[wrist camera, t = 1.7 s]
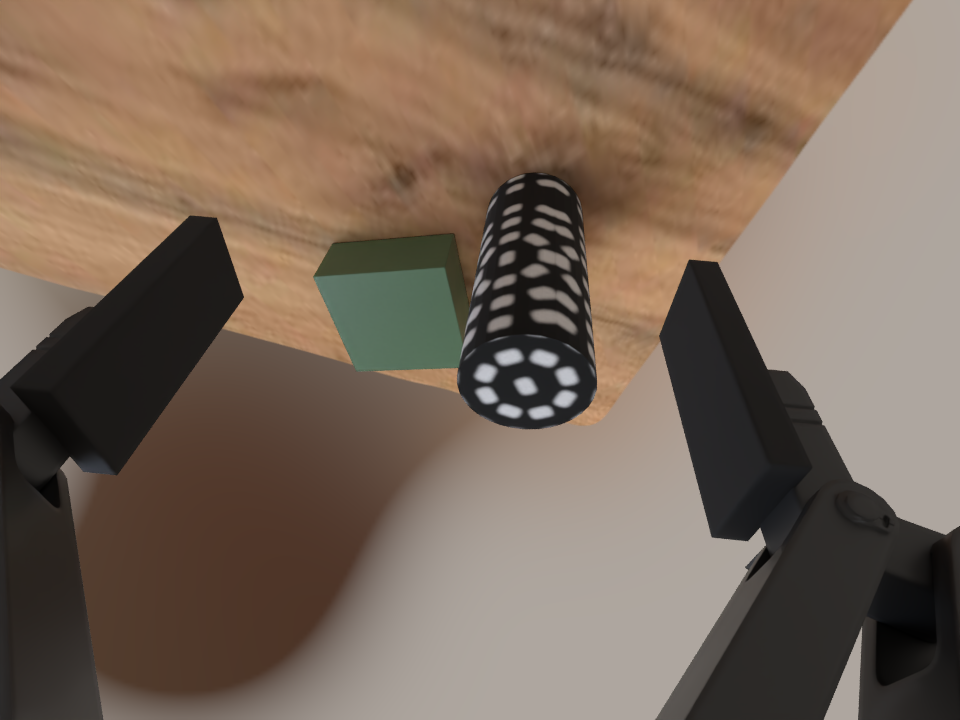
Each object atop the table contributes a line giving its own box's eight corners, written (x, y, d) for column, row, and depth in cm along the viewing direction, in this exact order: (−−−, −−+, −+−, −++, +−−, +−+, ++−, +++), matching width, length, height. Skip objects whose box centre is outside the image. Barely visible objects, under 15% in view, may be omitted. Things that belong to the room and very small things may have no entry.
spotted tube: (594, 241, 45) (613, 414, 31) (508, 269, 48) (491, 438, 34) (564, 156, 40) (571, 317, 26) (471, 194, 43) (432, 356, 29)
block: (369, 336, 56) (356, 371, 53) (332, 243, 48) (312, 276, 44) (474, 331, 54) (468, 367, 50) (454, 233, 46) (444, 267, 42)
